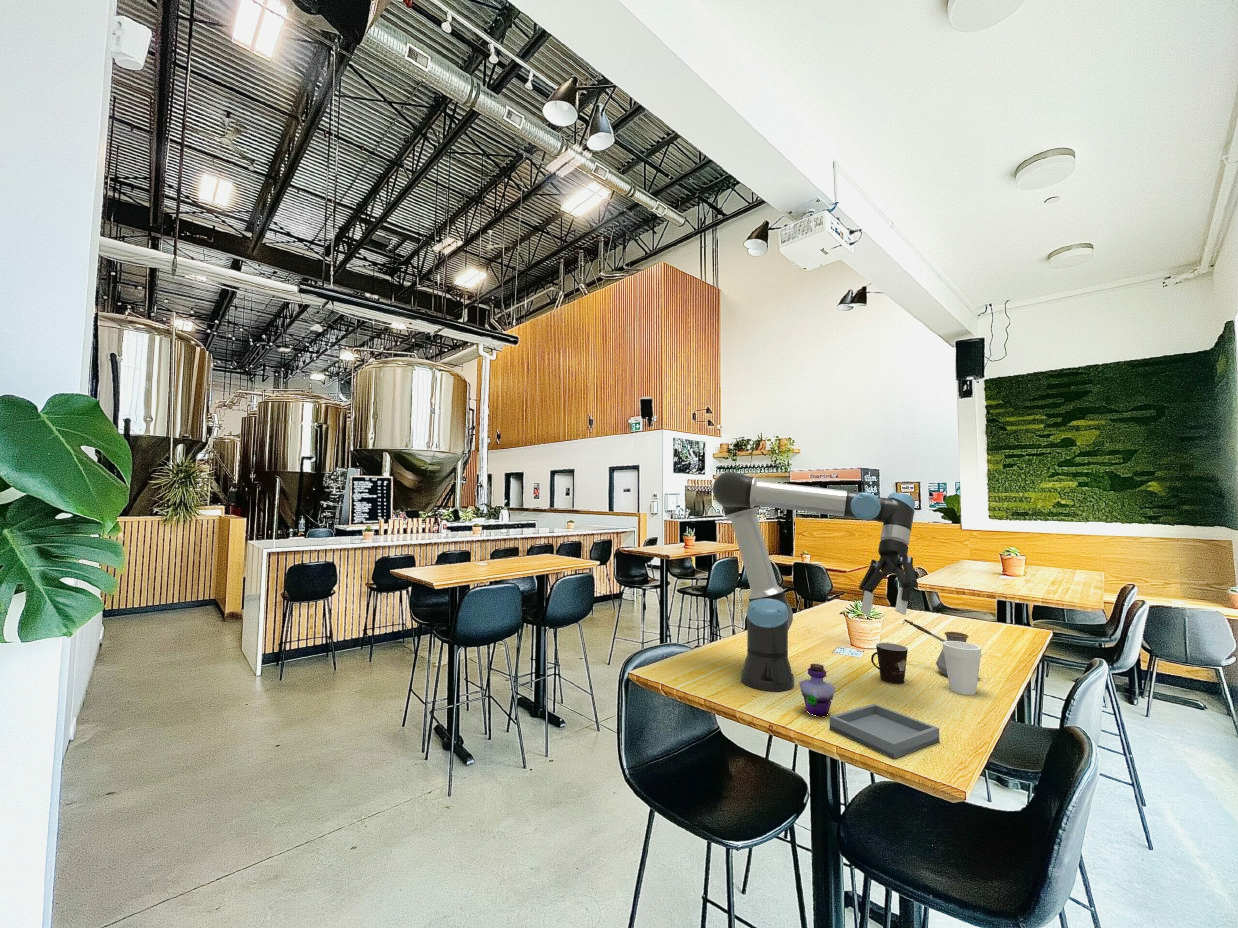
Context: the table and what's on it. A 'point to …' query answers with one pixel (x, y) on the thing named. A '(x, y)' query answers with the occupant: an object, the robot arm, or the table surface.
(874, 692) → the table surface
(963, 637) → the coffee pot
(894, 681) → the coffee mug
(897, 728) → the tray
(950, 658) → the foam cup
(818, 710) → the potion bottle
